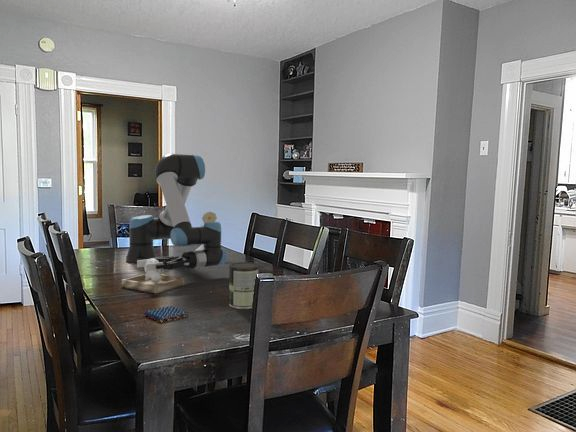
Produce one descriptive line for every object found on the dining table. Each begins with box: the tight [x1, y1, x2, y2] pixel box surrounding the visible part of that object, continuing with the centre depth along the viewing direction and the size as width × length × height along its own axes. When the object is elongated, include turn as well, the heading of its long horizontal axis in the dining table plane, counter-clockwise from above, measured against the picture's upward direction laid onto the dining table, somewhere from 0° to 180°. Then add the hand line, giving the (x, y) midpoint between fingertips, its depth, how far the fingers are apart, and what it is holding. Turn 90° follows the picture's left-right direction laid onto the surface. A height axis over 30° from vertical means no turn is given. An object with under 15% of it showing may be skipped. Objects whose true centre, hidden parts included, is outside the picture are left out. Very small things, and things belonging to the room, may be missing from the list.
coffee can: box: [228, 261, 260, 310], centre depth 151 cm, size 10×10×14 cm
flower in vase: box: [194, 211, 218, 251], centre depth 246 cm, size 13×11×25 cm
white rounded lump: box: [143, 258, 163, 284], centre depth 172 cm, size 6×8×12 cm
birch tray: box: [121, 273, 185, 294], centre depth 174 cm, size 18×16×3 cm
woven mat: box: [143, 305, 189, 324], centre depth 137 cm, size 10×11×2 cm
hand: (142, 265), depth 171 cm, fingers closed on white rounded lump, 8 cm apart
